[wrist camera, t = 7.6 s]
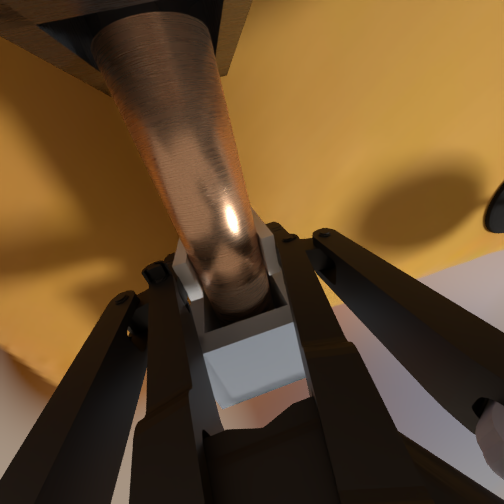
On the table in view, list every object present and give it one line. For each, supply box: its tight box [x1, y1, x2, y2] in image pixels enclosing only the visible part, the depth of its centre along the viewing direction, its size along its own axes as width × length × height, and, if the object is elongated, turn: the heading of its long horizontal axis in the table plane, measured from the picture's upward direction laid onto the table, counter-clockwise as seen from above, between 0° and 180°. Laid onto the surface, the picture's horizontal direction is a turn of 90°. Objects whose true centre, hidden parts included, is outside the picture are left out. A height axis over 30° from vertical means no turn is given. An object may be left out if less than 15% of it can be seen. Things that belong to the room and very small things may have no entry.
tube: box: [91, 12, 275, 327], centre depth 12 cm, size 16×4×4 cm, turn 13°
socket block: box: [190, 267, 306, 409], centre depth 17 cm, size 6×7×10 cm
